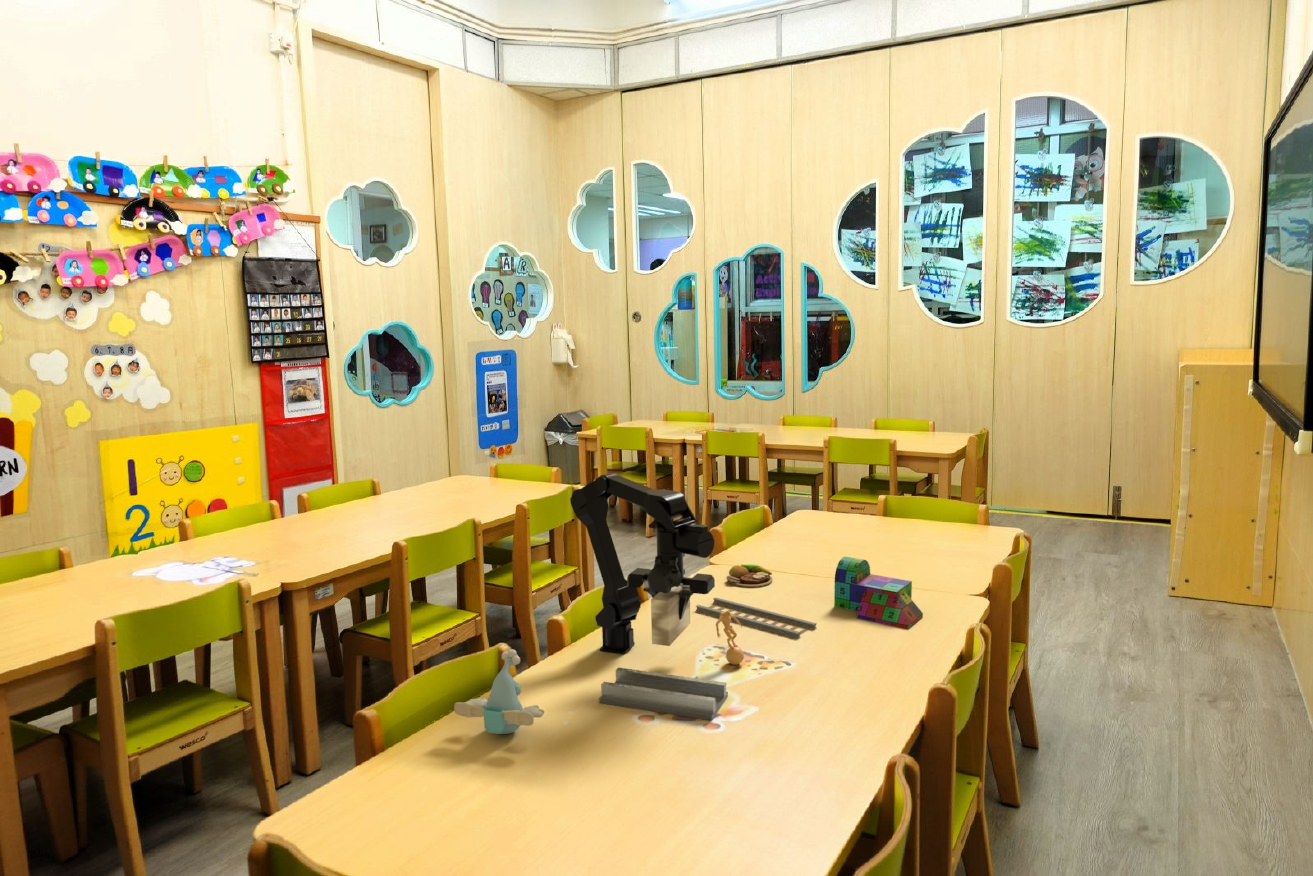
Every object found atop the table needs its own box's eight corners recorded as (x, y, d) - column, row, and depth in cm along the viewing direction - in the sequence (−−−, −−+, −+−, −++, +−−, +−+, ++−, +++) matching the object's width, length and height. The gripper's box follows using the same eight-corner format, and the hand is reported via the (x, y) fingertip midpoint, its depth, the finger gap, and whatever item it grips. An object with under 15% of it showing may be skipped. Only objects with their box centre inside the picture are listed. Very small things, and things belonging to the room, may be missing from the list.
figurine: (730, 672, 189) (729, 620, 187) (709, 665, 193) (708, 613, 192) (753, 660, 195) (753, 609, 193) (732, 653, 199) (732, 603, 197)
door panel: (652, 643, 186) (650, 599, 185) (674, 621, 199) (673, 579, 197) (669, 646, 185) (668, 601, 183) (690, 623, 198) (689, 581, 196)
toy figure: (557, 724, 167) (554, 651, 165) (532, 751, 158) (529, 673, 155) (482, 713, 173) (478, 642, 170) (453, 738, 163) (448, 662, 161)
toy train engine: (826, 612, 225) (826, 566, 223) (850, 596, 237) (851, 552, 235) (908, 630, 212) (909, 581, 210) (929, 612, 224) (931, 565, 222)
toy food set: (752, 596, 240) (752, 582, 239) (710, 588, 248) (710, 574, 247) (786, 577, 256) (786, 564, 255) (745, 570, 264) (745, 557, 263)
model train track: (794, 643, 206) (794, 635, 206) (692, 614, 227) (692, 607, 227) (819, 629, 215) (819, 621, 215) (718, 603, 235) (718, 595, 235)
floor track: (599, 702, 176) (598, 686, 176) (620, 680, 186) (620, 665, 186) (711, 720, 167) (711, 703, 167) (727, 696, 178) (727, 680, 177)
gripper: (616, 556, 185) (618, 626, 187) (698, 563, 178) (700, 635, 180) (635, 542, 195) (637, 609, 197) (714, 549, 188) (715, 617, 191)
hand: (671, 618), depth 191 cm, fingers closed on door panel, 4 cm apart
